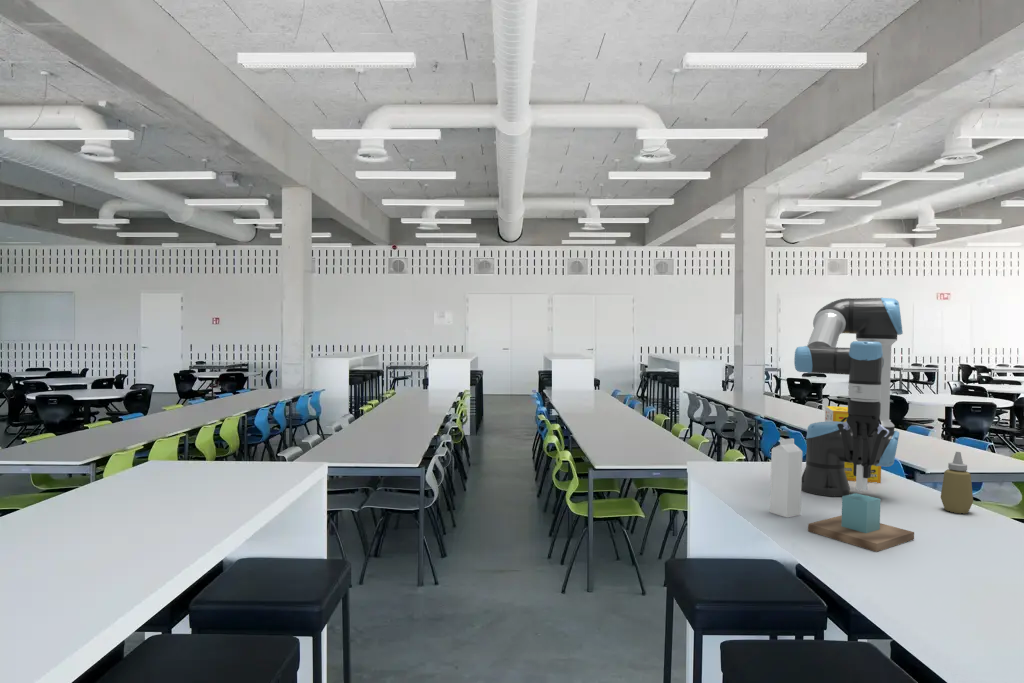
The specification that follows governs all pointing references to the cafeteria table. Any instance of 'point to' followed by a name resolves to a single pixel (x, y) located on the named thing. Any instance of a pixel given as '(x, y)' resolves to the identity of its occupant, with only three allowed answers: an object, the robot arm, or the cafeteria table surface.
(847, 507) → the teal block
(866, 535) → the walnut stand
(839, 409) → the packaging box
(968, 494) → the squeeze bottle
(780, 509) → the milk
